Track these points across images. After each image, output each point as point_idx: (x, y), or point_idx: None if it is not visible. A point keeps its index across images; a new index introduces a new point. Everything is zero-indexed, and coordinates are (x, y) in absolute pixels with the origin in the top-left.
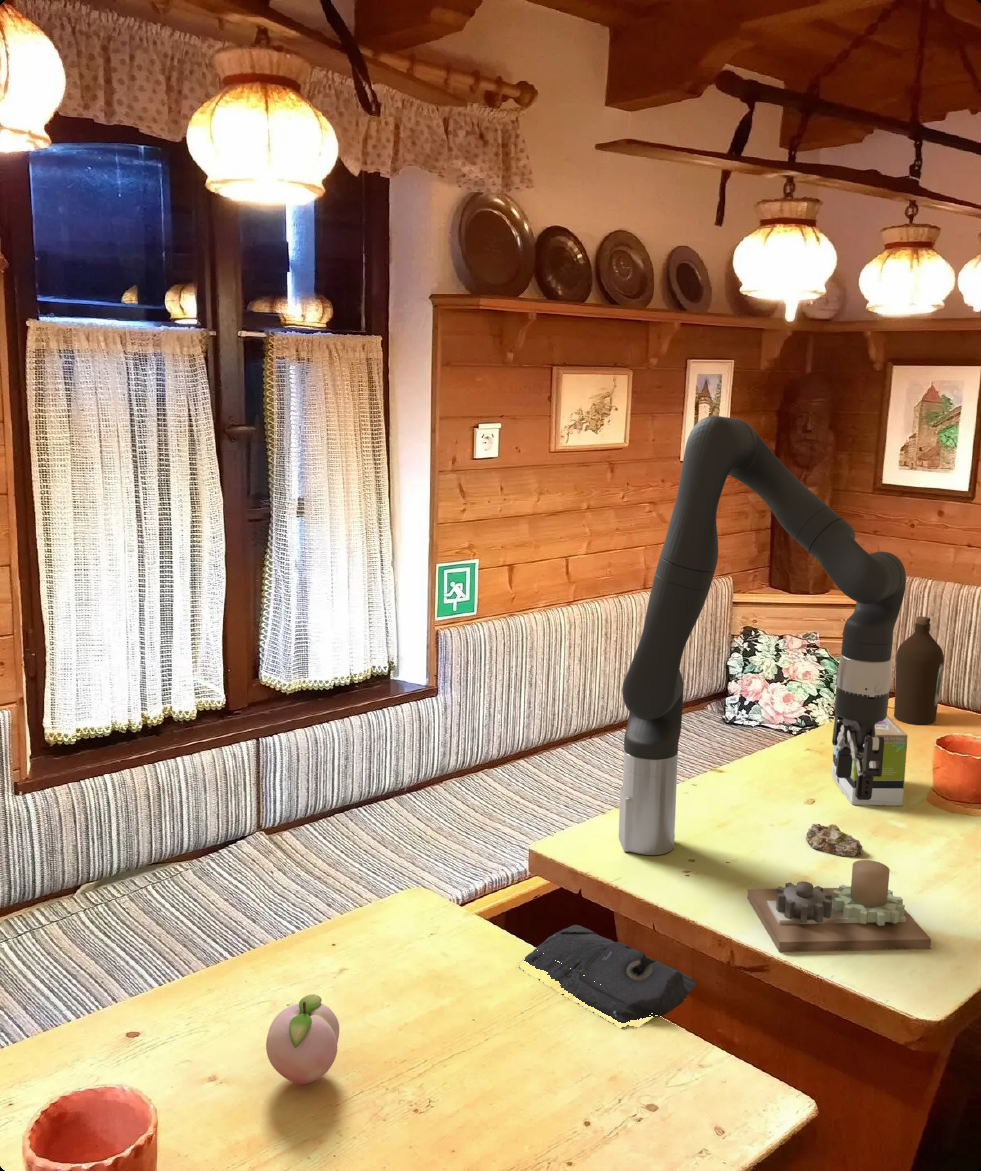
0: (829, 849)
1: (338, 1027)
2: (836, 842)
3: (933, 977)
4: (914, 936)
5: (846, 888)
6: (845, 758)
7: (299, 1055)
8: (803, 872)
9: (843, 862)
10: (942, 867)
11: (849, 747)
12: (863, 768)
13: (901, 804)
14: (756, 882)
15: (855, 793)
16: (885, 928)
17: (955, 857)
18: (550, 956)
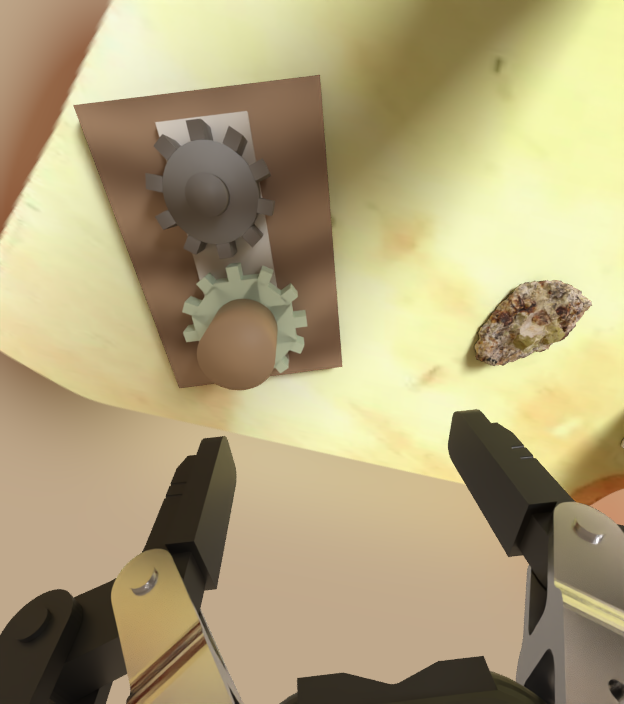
0: (499, 311)
1: None
2: (512, 328)
3: (100, 364)
4: (181, 368)
5: (281, 299)
6: (506, 512)
7: None
8: (428, 245)
9: (457, 324)
10: (424, 446)
11: (414, 683)
12: (29, 658)
13: (621, 445)
14: (392, 126)
15: (217, 446)
16: None
17: (450, 465)
18: None
